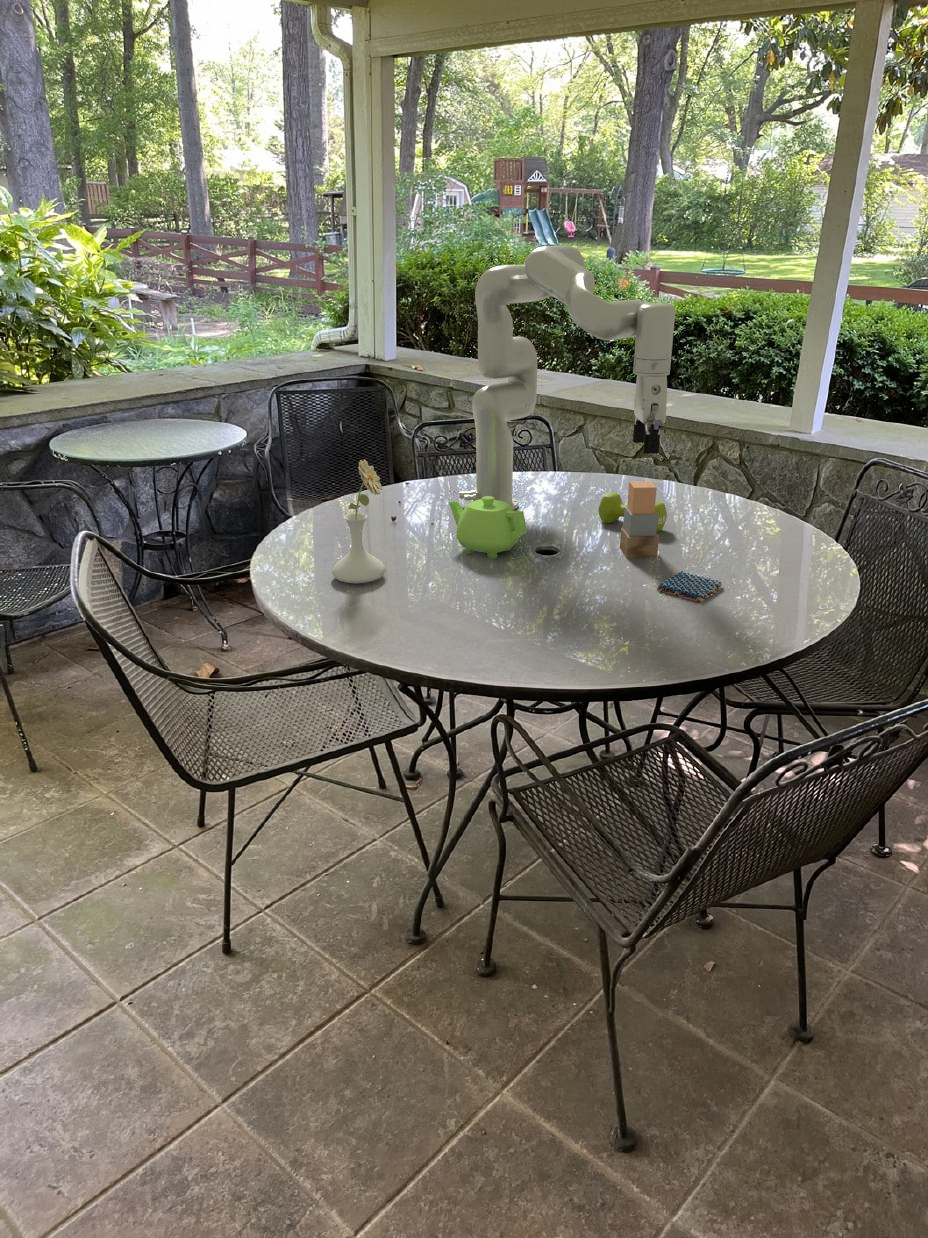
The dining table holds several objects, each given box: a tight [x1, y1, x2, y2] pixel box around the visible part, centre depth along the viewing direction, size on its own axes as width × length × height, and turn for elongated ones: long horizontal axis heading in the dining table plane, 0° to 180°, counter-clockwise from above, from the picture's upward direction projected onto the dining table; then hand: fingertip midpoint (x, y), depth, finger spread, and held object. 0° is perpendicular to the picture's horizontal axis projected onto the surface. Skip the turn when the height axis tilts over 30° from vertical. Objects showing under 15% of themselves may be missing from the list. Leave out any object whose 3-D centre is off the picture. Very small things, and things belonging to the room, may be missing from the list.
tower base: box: [619, 527, 660, 559], centre depth 197 cm, size 7×7×5 cm
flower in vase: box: [331, 459, 387, 584], centre depth 181 cm, size 13×11×25 cm
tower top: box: [622, 507, 658, 537], centre depth 195 cm, size 6×6×5 cm
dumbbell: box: [598, 491, 668, 534], centre depth 214 cm, size 16×8×7 cm, turn 48°
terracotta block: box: [626, 480, 657, 514], centre depth 193 cm, size 5×5×6 cm
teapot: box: [448, 496, 528, 559], centre depth 198 cm, size 20×13×13 cm
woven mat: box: [656, 570, 723, 603], centre depth 178 cm, size 10×11×2 cm
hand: (645, 447), depth 188 cm, fingers open, 9 cm apart
